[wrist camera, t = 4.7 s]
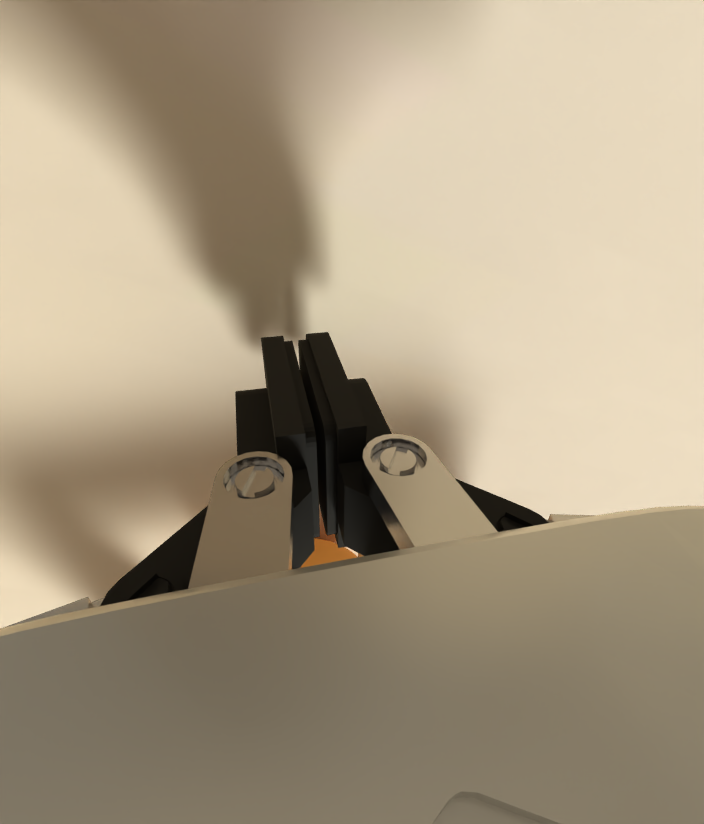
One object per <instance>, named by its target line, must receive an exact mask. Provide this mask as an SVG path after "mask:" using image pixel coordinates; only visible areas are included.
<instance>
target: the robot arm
mask: <svg viewBox="0 0 704 824" xmlns="http://www.w3.org/2000/svg"><path fill="white" fill-rule="evenodd" d="M261 342H262V351H263V360H264V369H265V378H266V387H267V388H264V389H254V390H245V391H236V426H237V456H236V457H234V458H232V459H231V460H229V461H227V462H226V463H225V464H224V465H223V466H222V467H221V468H220V469H219V471H218V473H217V475H216V477H215V480H214V484H213V488H212V492H211V496H210V501H209V505H208V506H207V507H206V508H205V509H203V510H202V511H201V512H200V513H199V514H197V515H196V516H195V517H194V518H193V519H191V520H190V521H189V522H188V523H187V524H185V525H184V526H183V527H182V528H181V529H180V530H178V531H177V532H176V533H175V534H174V535H172V536H171V537H170V538H169V539H168V540H166V541H165V542H164V543H163V544H162V545H160V546H159V547H158V548H157V549H156V550H155V551H153V552H152V553H151V554H150V555H149V556H147V557H146V558H145V559H144V560H143V561H141V562H140V563H139V564H138V565H137V566H135V567H134V568H133V569H132V570H131V571H130V572H128V573H127V574H126V575H125V576H124V577H122V578H121V579H120V580H119V581H118V582H117V583H116V584H115V585H114V586H113V587H112V588H111V589H110V590H109V591H108V593H107V594H106V596H105V598H102V599H100V600H97V601H94V602H92V603H91V601H90V599H89V598H88V597H86V598H84V599H81V600H78V601H75V602H73V603H70V604H67V605H64V606H62V607H59V608H56V609H53V610H51V611H48V612H45V613H42V614H40V615H37V616H34V617H31V618H29V619H26V620H23V621H20V622H18V623H15V624H12V625H9V626H7V627H4V628H0V824H704V506H673V507H655V508H647V509H640V510H632V511H623V512H615V513H609V514H603V515H597V516H596V515H560V514H550V516H549V519H548V520H545V519H544V518H543V517H542V516H541V515H539V514H537V513H535V512H534V511H532V510H530V509H528V508H525V507H523V506H520V505H518V504H516V503H513V502H511V501H508V500H506V499H503V498H501V497H499V496H496V495H494V494H491V493H489V492H486V491H484V490H482V489H479V488H477V487H474V486H472V485H469V484H467V483H465V482H462V481H460V480H457V479H455V478H454V477H453V476H452V475H451V473H450V472H449V471H448V470H447V468H446V467H445V466H444V465H443V463H442V462H441V461H440V460H439V458H438V457H437V456H436V455H435V453H434V452H433V451H432V450H431V449H430V448H429V447H428V446H427V445H426V444H425V443H424V442H423V441H421V440H419V439H417V438H415V437H412V436H408V435H405V434H391V432H390V429H389V427H388V425H387V423H386V421H385V419H384V417H383V415H382V413H381V410H380V408H379V406H378V404H377V402H376V400H375V398H374V396H373V394H372V391H371V389H370V387H369V385H368V383H367V381H366V380H365V379H364V378H360V379H350V380H348V379H347V376H346V374H345V372H344V369H343V367H342V364H341V362H340V360H339V357H338V355H337V352H336V350H335V347H334V345H333V343H332V340H331V338H330V335H329V333H328V332H324V333H312V334H306V340H299V342H298V346H299V364H300V369H299V365H298V361H297V357H296V354H295V350H294V346H293V342H292V341H286V342H284V338H283V336H276V337H264V338H261ZM319 504H320V509H321V513H322V518H323V522H324V527H325V531H326V534H327V535H331V534H335V537H336V541H337V545H338V548H341V547H348V548H350V549H352V550H354V551H356V552H358V557H357V558H352V559H346V560H341V561H335V562H330V563H324V564H319V565H314V566H308V567H303V568H300V567H301V566H302V565H303V563H304V562H305V561H306V560H307V559H308V558H309V556H310V555H311V554H312V553H313V552H314V550H315V546H314V537H319V536H320V527H319Z"/></svg>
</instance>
